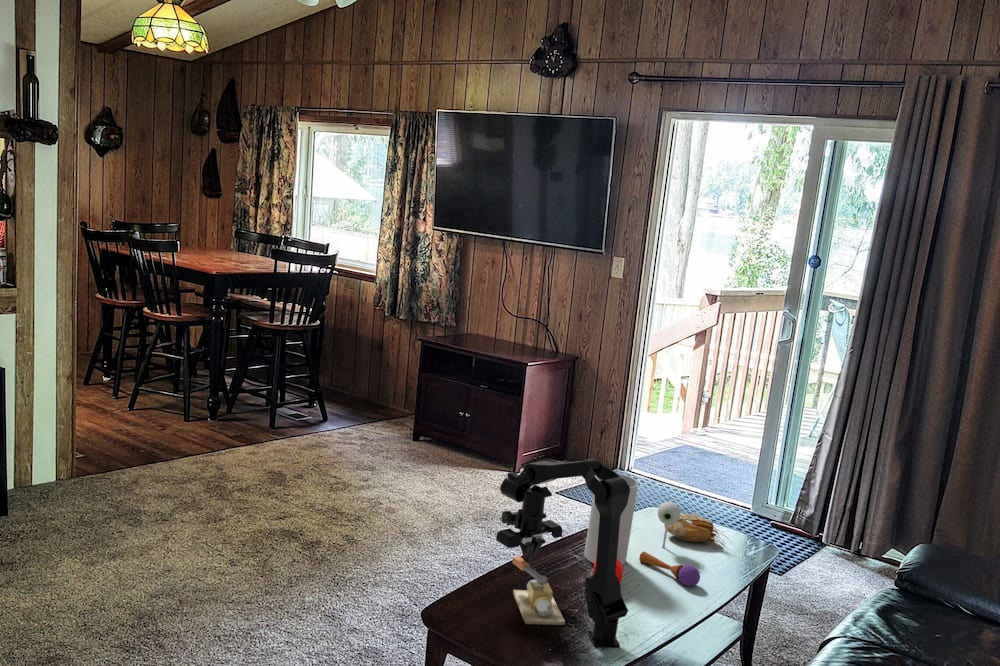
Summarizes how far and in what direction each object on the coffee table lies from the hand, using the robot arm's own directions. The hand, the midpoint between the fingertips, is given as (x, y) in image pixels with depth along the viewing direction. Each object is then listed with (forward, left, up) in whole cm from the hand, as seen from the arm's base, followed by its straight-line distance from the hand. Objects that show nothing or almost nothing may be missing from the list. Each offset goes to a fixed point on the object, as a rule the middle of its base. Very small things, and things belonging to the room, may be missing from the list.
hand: (526, 563), depth 229 cm
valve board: (-10, -2, -8) cm, 13 cm away
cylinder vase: (+22, -30, -8) cm, 38 cm away
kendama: (+13, -47, -8) cm, 50 cm away
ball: (+5, -25, -8) cm, 27 cm away
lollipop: (+33, -53, -8) cm, 63 cm away
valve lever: (-5, 0, -1) cm, 5 cm away
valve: (-10, -2, -8) cm, 13 cm away
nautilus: (+39, -66, -8) cm, 77 cm away
